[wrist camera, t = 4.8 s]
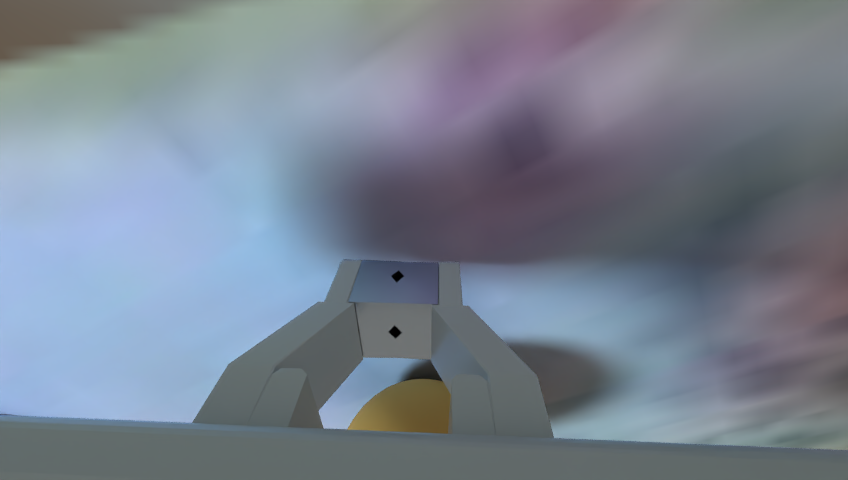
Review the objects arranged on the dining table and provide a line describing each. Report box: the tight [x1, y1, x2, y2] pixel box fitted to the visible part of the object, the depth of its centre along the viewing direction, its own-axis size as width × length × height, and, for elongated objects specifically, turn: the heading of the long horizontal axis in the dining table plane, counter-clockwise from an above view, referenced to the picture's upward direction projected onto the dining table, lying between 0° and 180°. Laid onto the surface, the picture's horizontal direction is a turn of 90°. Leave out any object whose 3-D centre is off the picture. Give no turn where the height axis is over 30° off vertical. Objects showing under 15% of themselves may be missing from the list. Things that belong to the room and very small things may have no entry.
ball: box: [347, 379, 451, 434], centre depth 12 cm, size 6×6×6 cm
